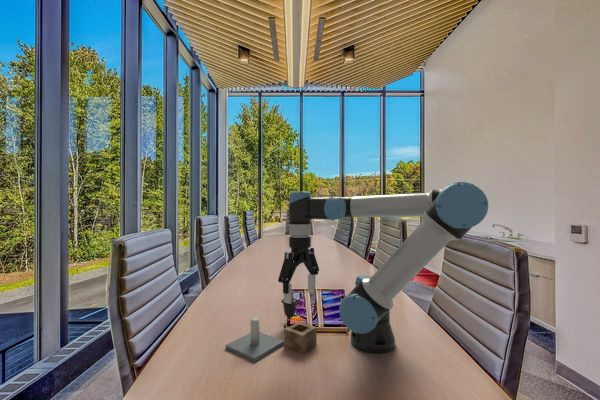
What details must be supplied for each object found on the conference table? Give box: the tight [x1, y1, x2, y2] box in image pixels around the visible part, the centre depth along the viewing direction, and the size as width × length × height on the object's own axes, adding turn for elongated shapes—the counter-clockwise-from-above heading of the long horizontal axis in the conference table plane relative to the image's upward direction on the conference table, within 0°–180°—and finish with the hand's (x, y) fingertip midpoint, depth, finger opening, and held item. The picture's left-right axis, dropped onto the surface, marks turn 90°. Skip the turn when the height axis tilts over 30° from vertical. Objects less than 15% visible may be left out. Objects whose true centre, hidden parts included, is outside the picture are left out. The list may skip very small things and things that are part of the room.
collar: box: [283, 321, 318, 355], centre depth 102 cm, size 8×8×6 cm
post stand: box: [225, 317, 284, 363], centre depth 102 cm, size 14×14×9 cm
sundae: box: [281, 294, 299, 329], centre depth 118 cm, size 7×7×15 cm
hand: (300, 297), depth 102 cm, fingers open, 13 cm apart
